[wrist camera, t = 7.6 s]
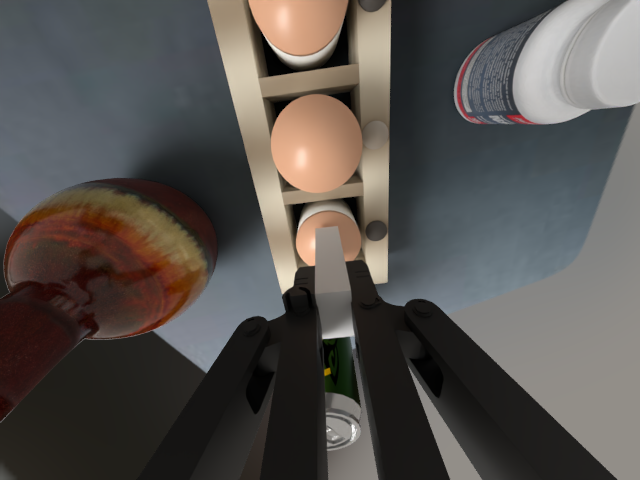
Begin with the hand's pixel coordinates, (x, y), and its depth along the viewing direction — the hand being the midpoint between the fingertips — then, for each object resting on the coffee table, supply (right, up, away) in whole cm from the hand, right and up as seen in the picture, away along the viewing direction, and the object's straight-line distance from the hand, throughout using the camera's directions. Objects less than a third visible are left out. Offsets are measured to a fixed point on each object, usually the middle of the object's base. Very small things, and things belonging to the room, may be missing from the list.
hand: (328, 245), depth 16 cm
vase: (-15, +1, +6) cm, 16 cm away
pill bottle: (+11, +12, +1) cm, 16 cm away
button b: (-1, +7, 0) cm, 7 cm away
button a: (-2, +14, -1) cm, 14 cm away
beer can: (-1, -7, +10) cm, 12 cm away
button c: (0, +2, +4) cm, 5 cm away
